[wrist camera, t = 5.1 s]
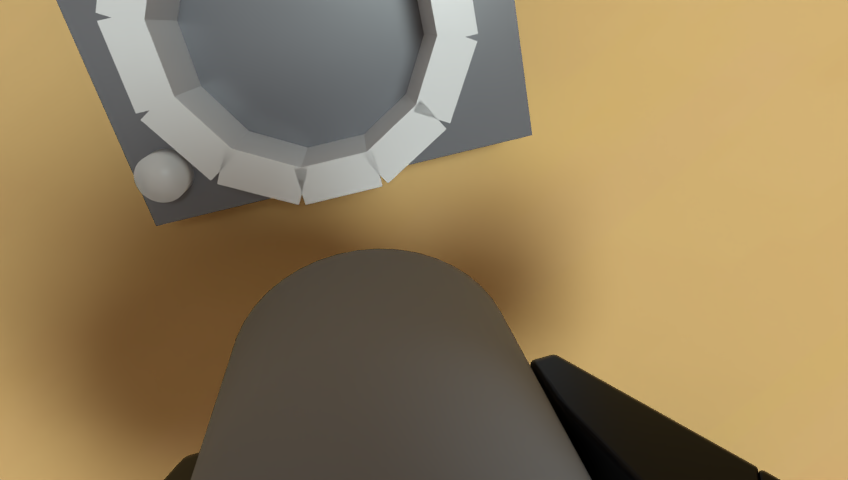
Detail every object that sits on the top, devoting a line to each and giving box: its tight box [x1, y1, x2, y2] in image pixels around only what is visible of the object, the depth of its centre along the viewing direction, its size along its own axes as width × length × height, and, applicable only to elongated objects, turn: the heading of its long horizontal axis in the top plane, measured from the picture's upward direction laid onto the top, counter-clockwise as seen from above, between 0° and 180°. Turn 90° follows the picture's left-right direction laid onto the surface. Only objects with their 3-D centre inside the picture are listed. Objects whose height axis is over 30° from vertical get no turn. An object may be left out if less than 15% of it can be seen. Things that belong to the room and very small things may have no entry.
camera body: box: [56, 0, 532, 226], centre depth 15 cm, size 12×9×6 cm
